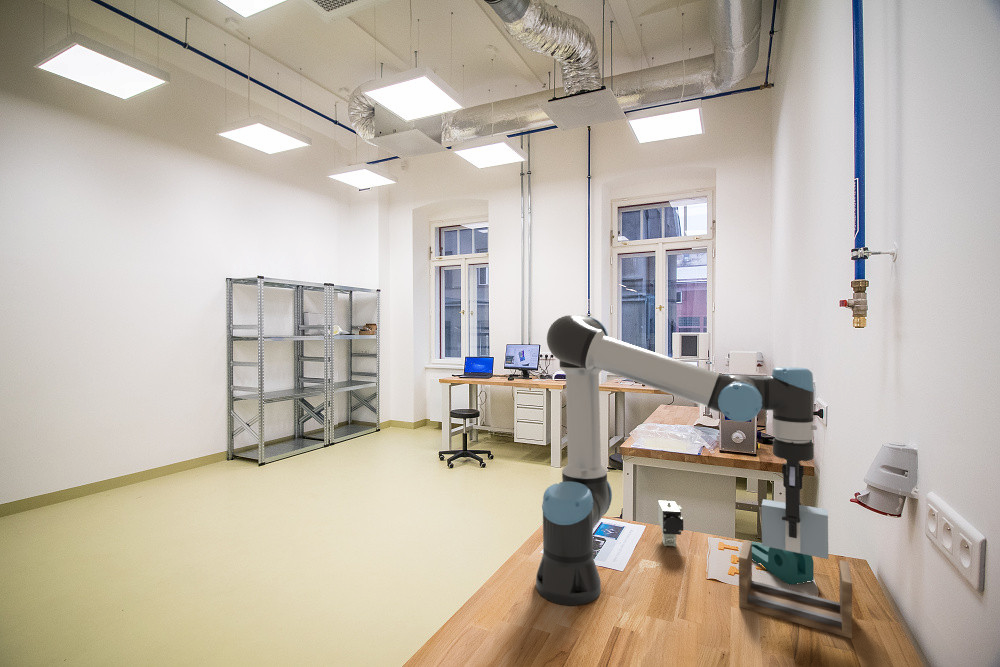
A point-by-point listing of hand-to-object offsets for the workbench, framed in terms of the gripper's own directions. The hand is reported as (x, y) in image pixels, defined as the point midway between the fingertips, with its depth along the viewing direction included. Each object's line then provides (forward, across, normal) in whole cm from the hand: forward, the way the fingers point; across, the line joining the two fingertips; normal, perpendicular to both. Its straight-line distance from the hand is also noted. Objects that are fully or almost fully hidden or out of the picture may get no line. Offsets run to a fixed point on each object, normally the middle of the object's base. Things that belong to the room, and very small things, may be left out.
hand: (793, 546), depth 103 cm
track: (+14, 0, 0) cm, 14 cm away
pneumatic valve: (+14, +18, +30) cm, 38 cm away
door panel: (0, 0, 0) cm, 0 cm away
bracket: (+14, +20, +5) cm, 25 cm away
